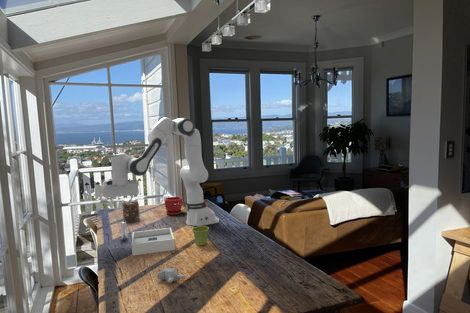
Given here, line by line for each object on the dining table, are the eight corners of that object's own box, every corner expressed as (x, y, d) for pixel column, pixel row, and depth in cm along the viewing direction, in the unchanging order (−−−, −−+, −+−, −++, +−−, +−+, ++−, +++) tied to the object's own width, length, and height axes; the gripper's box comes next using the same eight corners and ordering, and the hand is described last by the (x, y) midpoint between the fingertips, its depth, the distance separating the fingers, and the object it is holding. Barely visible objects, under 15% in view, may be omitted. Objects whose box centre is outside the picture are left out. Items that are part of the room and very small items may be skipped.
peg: (127, 237, 215) (126, 221, 214) (127, 239, 211) (126, 222, 210) (122, 238, 214) (120, 222, 213) (121, 239, 211) (120, 223, 210)
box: (171, 237, 211) (170, 227, 210) (174, 249, 190) (174, 238, 189) (133, 242, 205) (132, 232, 205) (132, 255, 184) (131, 244, 183)
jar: (143, 218, 256) (142, 198, 255) (130, 222, 247) (129, 201, 245) (132, 217, 263) (130, 197, 261) (119, 221, 253) (118, 200, 252)
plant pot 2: (212, 241, 200) (211, 226, 199) (204, 247, 191) (203, 231, 190) (198, 240, 203) (197, 225, 203) (189, 245, 195) (188, 230, 194)
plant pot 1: (181, 215, 261) (180, 199, 260) (163, 216, 261) (162, 200, 260) (184, 211, 274) (183, 195, 273) (167, 211, 274) (166, 196, 273)
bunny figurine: (173, 263, 161) (187, 270, 149) (174, 274, 161) (188, 282, 149) (153, 269, 156) (166, 276, 143) (154, 280, 156) (167, 289, 143)
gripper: (138, 178, 215) (140, 200, 216) (103, 181, 210) (104, 204, 211) (138, 179, 209) (140, 202, 210) (101, 182, 204) (103, 206, 205)
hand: (122, 203), depth 211 cm, fingers open, 8 cm apart
